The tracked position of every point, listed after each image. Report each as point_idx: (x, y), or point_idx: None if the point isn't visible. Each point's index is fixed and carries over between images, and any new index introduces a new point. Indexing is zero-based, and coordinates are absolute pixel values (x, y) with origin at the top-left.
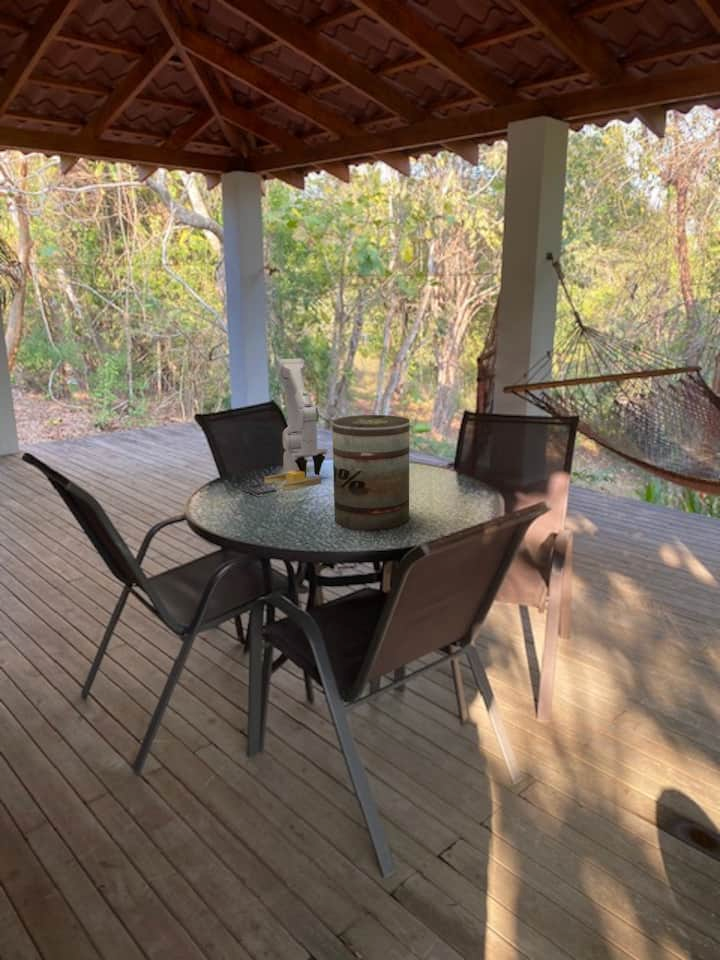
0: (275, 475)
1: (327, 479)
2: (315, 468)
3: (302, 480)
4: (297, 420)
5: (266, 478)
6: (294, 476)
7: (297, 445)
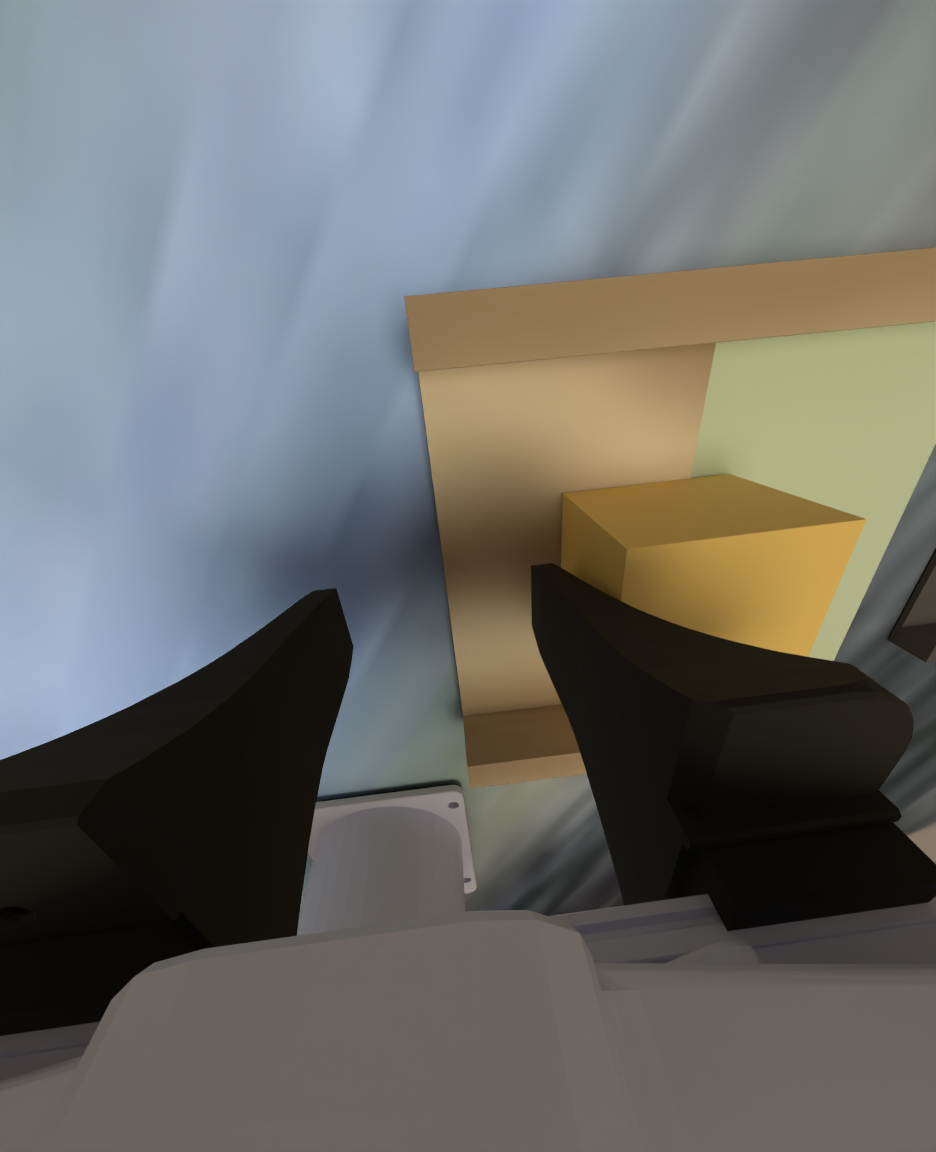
0: None
1: (219, 562)
2: (326, 693)
3: (782, 321)
4: None
5: None
6: (807, 509)
7: None
